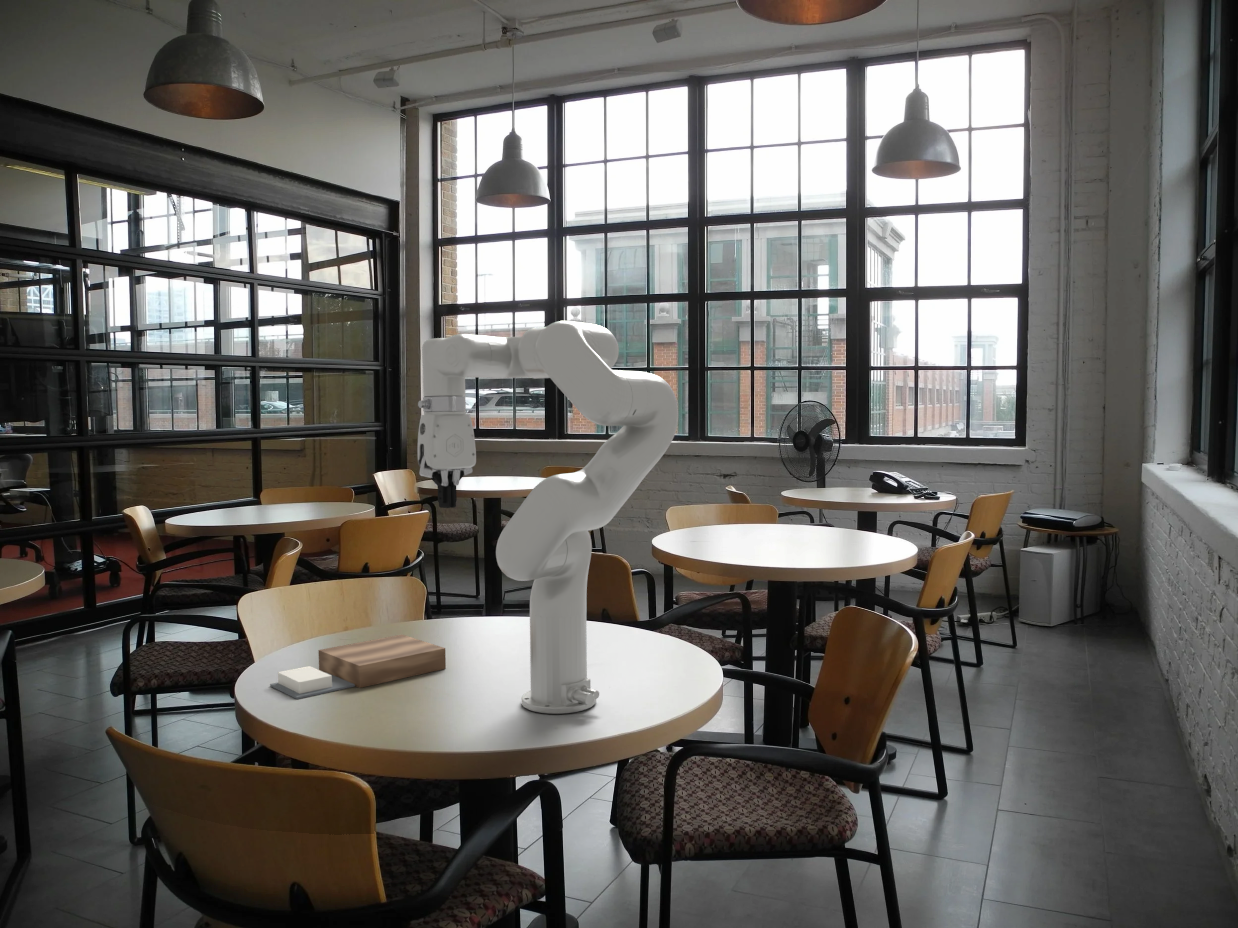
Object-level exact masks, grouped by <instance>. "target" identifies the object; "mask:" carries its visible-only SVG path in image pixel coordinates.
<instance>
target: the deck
mask: <svg viewBox="0 0 1238 928" xmlns="http://www.w3.org/2000/svg"><path fill="white" fill-rule="evenodd" d="M446 663H447V662H446V647H443V646H439V645H436V644H433V643H430V642H428V641H424V640H420V639H418V638H414V637H411V636H408V635H405V634H398V635H396V634H395V635H392V636H387V637H381V638H376V639H372V640H370V639H369V640H365V641H364V640H363V641H360V642H359V641H358V642H355V643H350V644H343V645H338V646H334V647H333V646H332V647H327V648H322V649H318V670H320V671H322V672H325V673H326V672H327V673H329V674H331V675H334V676H336V677H339V678H341V679H343V680H346V681H348V682H351V683H353V684H355V687H357V688H360V689H362V688H366V687H370V686H375V685H378V684H383V683H388V682H392V681H396V680H403V679H406V678H411V677H414V676H419V675H424V674H428V673H432V672H437V671H442V670H446V666H447V665H446Z"/></svg>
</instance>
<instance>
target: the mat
mask: <svg viewBox="0 0 1238 928" xmlns="http://www.w3.org/2000/svg"><path fill="white" fill-rule="evenodd" d="M326 673H327V672H326ZM327 674H329V673H327ZM329 675H331V674H329ZM331 676H332V687H328V688H324V689H319V690H314V691H310V692H305V693H300V694H299V693H297V692H295V691H293V690H291V689H289V688H287V687H285V686H283V685H281V684H279V683H278V681H277V682H273V683H270V684H269V687H270V688H274V689H275V690H278V691H280V692H282V693H284V694H286V695H287V696H289V697H292V698H294V699H296V700H300V699H305V698H309V697H314V696H317V695H322V694H327V693H330V692H335V691H339V690H346V689H349V688H354V687H356V686H355V684H353V683H351V682H348V681H346V680H343V679H341V678H339V677H336V676H334V675H331Z"/></svg>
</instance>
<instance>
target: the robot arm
mask: <svg viewBox="0 0 1238 928" xmlns="http://www.w3.org/2000/svg"><path fill="white" fill-rule="evenodd" d="M421 349H422V350H421V352H422V353H421V354H422V355H421V356H422V388H423V389H422V393H423V397H422V400H419V401H418V402H417V407H419V409H422V410H423V414H421V415H420V419H419V426H418V434H417V464H418V466H419V475H420V476H421V477H425V478H430V479H431V480H432V482H433V483H434V485H435V487H436V486H437V502H438V506H439V508H443V509H450V508H451V509H452V508H453V509H454V508H456V507H457V500H458V499H457V486H459V484H460V481H461V479H462V478H463V477H464V476H468V475H470V474H473V467H475V466H476V463H477V449H476V440H475V439H476V437H475V432H474V425H473V421H472V418H471V414H469V413H468V414H467V413H466V410H467V409H466V407H467V406H466V405H467V404H466V378H486V379H518V378H521V379H522V378H524V379H525V378H527V379H528V378H532V379H535V380H536V379H550V380H551V381H552V382H553V384H554V385H556V386H557V388H558V389H559V390H560V392H562V393H563V394H564V396H565V397H566V398H567V400H569V401H570V402H571V404H572V405H573V406H574V407H575V408H576V410H577V411H578V412H579V414H581V415H582V416H583V417H584V418H585V419H587V420H589V422H592V424H593V423H594V424H595V425H599V426H604V427H605V426H606V427H613V426H614V427H616V426H617V427H618V426H619V427H620V426H621V428H620V429H619V430H618V431H617V432H615V433H614V434H613V435H612V436H611V437H609V438H608V439H607V440H606V441H604V442H603V444H602V445H601V446H600V447H599V449H598V450H597V451H596V453H595V455H594V456H593V457H592V458H591V460H589V462H588V463H587V464H586V465H585V466H584V467H583V468H582V469H580V470H577V471H575V472H574V471H573V472H568V473H559V474H553V475H551V476H548V477H546V478H545V479H543V480H541V481H540V482H539V483H537V485H536V486H534V487H533V489H532V490H531V491H530V493H528V495H527V496H526V498H524V500H523V501H522V503H521V505H519V507H518V509H517V510H515V512H514V513H513V515H512V517H511V518H510V519H509V521H508V522H507V524H506V525H505V526H504V527H503V528H502V531H501V533H500V534H499V537H498V539H497V543H496V547H495V558H496V562H497V566H498V567H499V569H500V570H501V572H502V573H503V574H504V575H505V576H506V577H507V578H510V579H512V580H515V581H517V582H518V581H519V582H523V581H524V582H526V581H527V582H528V581H532V580H533V584H532V587H531V591H530V597H529V657H530V658H529V660H530V661H529V665H530V667H529V669H530V675H529V676H530V690H528V691H526V692H525V693H524V694H523V695H522V696H521V705H522V706H523V708H525V709H526V710H529V711H532V712H536V713H540V714H541V713H542V714H553V715H555V714H556V715H559V714H560V715H561V714H571V713H577V712H581V711H585V710H588V709H590V708H592V707H593V706H595V705H596V703H597V700H598V698H599V696H600V692H599V690H596V689H593V688H591V687H592V686H591V678H589V677H588V660H587V658H588V654H587V653H588V652H587V649H588V648H587V644H588V643H587V642H588V641H587V634H588V633H587V610H588V609H587V595H588V593H587V590H588V589H587V587H588V577H589V576H588V575H589V569H590V563H591V558H592V552H593V551H592V550H593V549H592V548H593V547H592V539H591V535H590V532H589V531H593V530H597V529H601V528H602V527H605V526H606V525H607V524H609V523H610V522H611V521H612V519H613V518H614V517H615V516H616V515H617V513H618V512H619V511H620V509H621V508H622V507H623V506H624V504H625V503H626V502H627V501H628V499H629V498H630V497H631V495H633V493H634V492H636V491H635V490H637V488H638V487H639V485H640V484H641V482H642V481H643V480H644V479H645V478H646V476H647V475H648V474H649V473H650V471H651V470H652V469H653V468H654V467H655V466H656V464H657V463H658V462H659V461H660V460H661V458H662V457H663V456H664V455H665V453H666V451H667V450H668V448H669V447H670V445H671V444H672V441H673V439H674V438H675V435H676V432H677V428H678V422H679V407H678V406H679V405H678V400H677V397H676V394H675V392H674V390H673V389H672V386H671V385H670V384H669V383H668V382H667V381H666V380H665V379H663V378H662V377H661V376H659V375H657V374H654V373H650V372H645V371H639V370H624V369H623V370H621V369H619V370H618V369H613V367H614V366H615V364H616V363H617V361H618V358H619V354H620V347H619V344H618V340H617V339H616V337H615V335H614V334H613V333H612V332H611V331H610V330H609V329H607V328H606V327H603V326H602V325H598V324H594V323H590V322H589V323H588V322H580V321H571V320H560V321H559V320H558V321H555V322H552V323H550V324H549V325H546V326H541V327H540V326H539V327H538V326H537V327H531V328H529V329H527V330H526V331H525V332H524V333H523V334H522V336H521V335H520V336H506V337H505V336H503V337H502V336H494V335H493V336H491V335H482V334H469V333H460V334H459V333H458V334H454V335H451V336H448V337H445V338H444V337H440V338H439V337H437V338H436V337H435V338H428V339H426V340H425V341H424V342H423V344H422V347H421Z"/></svg>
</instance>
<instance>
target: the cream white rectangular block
mask: <svg viewBox="0 0 1238 928" xmlns="http://www.w3.org/2000/svg"><path fill="white" fill-rule="evenodd" d="M277 682H278V683H279V684H281V685H283V686H285V687H287V688H289V689H291V690H293V691H295V692H297V693H299V694H300V693H305V692H310V691H314V690H319V689H324V688H328V687H332V676H331V675H329V674H327V673H325V672H322V671H320V670H319V668H318V669H317V668H315V667H313V666H310V665H308V666H304V667H303V666H302V667H299V668H293V669H292V668H291V669H287V670H282V671H277Z"/></svg>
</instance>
